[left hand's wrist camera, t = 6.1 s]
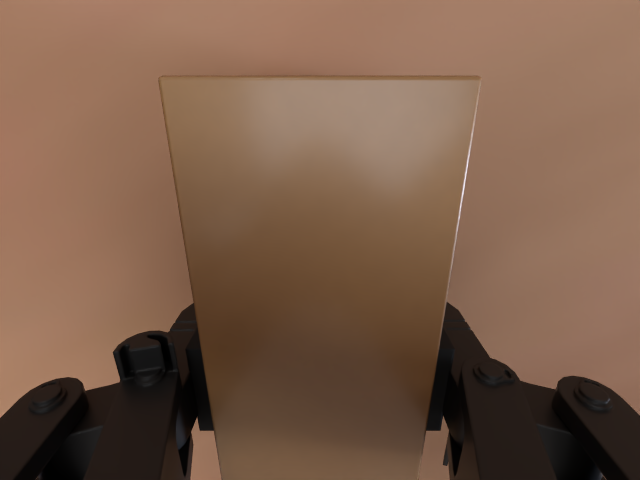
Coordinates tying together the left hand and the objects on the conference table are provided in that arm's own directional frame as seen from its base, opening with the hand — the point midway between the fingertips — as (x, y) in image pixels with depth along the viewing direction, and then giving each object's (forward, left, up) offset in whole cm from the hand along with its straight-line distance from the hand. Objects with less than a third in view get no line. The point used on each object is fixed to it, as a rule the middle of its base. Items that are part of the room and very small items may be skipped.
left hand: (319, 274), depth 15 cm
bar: (-28, +13, -1) cm, 31 cm away
